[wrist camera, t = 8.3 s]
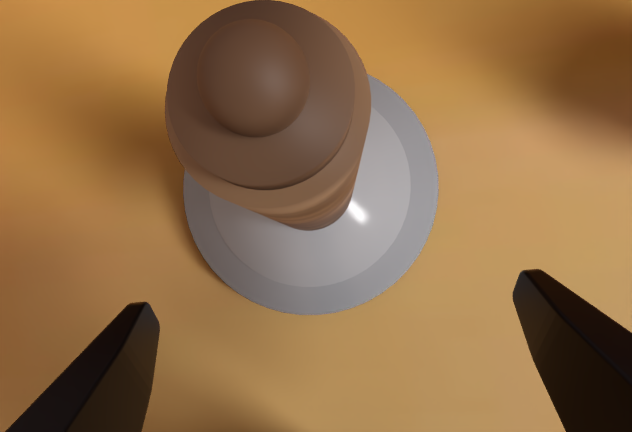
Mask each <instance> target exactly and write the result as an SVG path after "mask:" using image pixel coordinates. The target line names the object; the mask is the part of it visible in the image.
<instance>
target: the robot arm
mask: <svg viewBox="0 0 632 432" xmlns="http://www.w3.org/2000/svg"><path fill="white" fill-rule="evenodd" d="M513 302H514V305H515V308H516V311H517V314H518V317H519V320H520V323H521V326H522V329H523V332H524V335H525V338H526V341H527V344H528V347H529V350H530V353H531V355H532V358H533V361H534V363H535V365H536V368H537V370H538V372H539V374H540V376H541V379H542V381H543V383H544V385H545V387H546V389H547V392H548V394H549V396H550V398H551V400H552V402H553V405H554V407H555V409H556V411H557V413H558V415H559V418H560V420H561V422H562V424H563V426H564V428H565V431H566V432H632V333H631V332H630V331H628V330H627V329H626V328H624V327H623V326H621V325H620V324H618V323H617V322H616V321H614V320H613V319H611V318H610V317H608V316H607V315H605V314H604V313H603V312H601V311H600V310H598V309H597V308H595V307H594V306H593V305H591V304H590V303H588V302H587V301H585V300H584V299H583V298H581V297H580V296H578V295H577V294H575V293H574V292H572V291H571V290H570V289H568V288H567V287H565V286H564V285H562V284H561V283H560V282H558V281H557V280H555V279H554V278H552V277H551V276H550V275H548V274H547V273H545V272H544V271H542V270H540V269H531V270H523V271H522V272H520V274H519V277H518V279H517V282H516V285H515V288H514V290H513ZM159 332H160V325H159V322H158V319H157V317H156V316H155V314H154V312H153V310H152V308H151V306H150V305H149V303H147V302H135V303H130V304H129V305H127V306H126V307H125V308H124V309H123V310H122V311H121V312H120V313H119V314H118V315H117V316H116V318H115V319H114V320H113V321H112V322H111V323H110V324H109V325H108V326H107V327H106V328H105V329H104V330H103V331H102V332H101V333H100V334H99V335H98V336H97V337H96V338H95V339H94V340H93V341H92V342H91V343H90V344H89V345H88V347H87V348H86V349H85V350H84V351H83V352H82V353H81V354H80V355H79V356H78V357H77V358H76V359H75V360H74V361H73V362H72V363H71V364H70V365H69V366H68V367H67V368H66V369H65V370H64V371H63V372H62V373H61V374H60V376H59V377H58V378H57V379H56V380H55V381H54V382H53V383H52V384H51V385H50V386H49V387H48V388H47V389H46V390H45V391H44V392H43V393H42V394H41V395H40V396H39V397H38V398H37V399H36V400H35V401H34V402H33V403H32V405H31V406H30V407H29V408H28V409H27V410H26V411H25V412H24V413H23V414H22V415H21V416H20V417H19V418H18V419H17V420H16V421H15V422H14V423H13V424H12V425H11V426H10V427H9V428H8V429H7V430H6V431H5V432H141V431H142V427H143V423H144V419H145V415H146V411H147V407H148V403H149V399H150V395H151V390H152V384H153V377H154V369H155V362H156V355H157V347H158V340H159Z"/></svg>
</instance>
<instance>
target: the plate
mask: <svg viewBox="0 0 632 432" xmlns="http://www.w3.org/2000/svg"><path fill="white" fill-rule="evenodd" d="M367 76H368V80H369V84H370V91H371V115H370V122H369V127H368V131H367V136H366V140H365V144H364V148H363V152H362V156H361V161H360V165H359V169H358V173H357V177H356V182H355V186H354V190H353V194H352V198H351V201H350V204H349V206H348V208H347V209H346V211H345V213H344V214H343V215H342V216H341V217H340V218H339V219H338V220H337V221H336V222H334V223H333V224H331V225H329V226H328V227H325V228H323V229H319V230H313V231H304V230H298V229H295V228H292V227H289V226H287V225H285V224H282V223H280V222H277V221H275V220H272V219H270V218H268V217H265V216H263V215H260V214H258V213H256V212H253V211H251V210H248V209H246V208H243V207H241V206H239V205H236V204H234V203H231V202H229V201H227V200H224V199H222V198H220V197H218V196H216V195H214V194H213V193H211V192H209V191H208V190H206V189H205V188H204V187H202V186H201V185H200V184H199V183H198V182H196V181H195V180H194V179H193V178H192V176H191V175H190V174H189V173H188V172H187V171H186V170H185V173H184V188H183V196H184V205H185V213H186V217H187V221H188V225H189V228H190V231H191V233H192V236H193V239H194V241H195V243H196V245H197V247H198V249H199V251H200V252H201V254H202V256H203V258H204V259H205V260H206V262H207V263H208V264H209V266H210V267H211V269H212V270H213V271H214V272H215V273H216V274H217V275H218V276H219V277H220V278H221V279H222V280H223V281H224V282H225V283H226V284H227V285H228V286H230V287H231V288H232V289H233V290H235V291H236V292H237V293H239V294H240V295H242V296H244V297H246V298H247V299H249V300H251V301H252V302H255V303H257V304H259V305H262V306H264V307H266V308H269V309H273V310H277V311H280V312H284V313H291V314H298V315H321V314H328V313H335V312H339V311H343V310H347V309H350V308H353V307H355V306H358V305H360V304H363V303H365V302H367V301H369V300H371V299H372V298H374V297H376V296H378V295H379V294H381V293H383V292H384V291H385V290H386V289H388V288H389V287H390V286H392V285H393V284H394V283H395V282H396V281H397V280H398V279H399V278H400V277H401V276H402V275H403V274H404V273H405V272H406V271H407V270H408V269H409V268H410V266H411V265H412V264H413V262H414V261H415V260H416V258H417V257H418V255H419V254H420V252H421V250H422V248H423V246H424V245H425V243H426V241H427V238H428V236H429V233H430V231H431V228H432V226H433V222H434V218H435V214H436V209H437V201H438V172H437V166H436V160H435V156H434V153H433V149H432V146H431V143H430V140H429V138H428V136H427V134H426V132H425V129H424V127H423V126H422V124H421V123H420V121H419V119H418V118H417V116H416V115H415V113H414V112H413V111H412V109H411V108H410V107H409V106H408V105H407V103H406V102H405V101H404V100H403V99H402V98H401V97H400V96H399V95H398V94H396V93H395V92H394V91H393V90H392V89H391V88H389V87H388V86H387V85H385V84H384V83H382V82H381V81H379V80H378V79H376V78H374V77H372V76H370V75H368V74H367Z"/></svg>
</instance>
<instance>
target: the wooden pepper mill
mask: <svg viewBox="0 0 632 432" xmlns="http://www.w3.org/2000/svg"><path fill="white" fill-rule="evenodd" d="M370 115H371V91H370V84H369V80H368V76H367V73H366V70H365V67H364V65H363V63H362V60H361V58H360V57H359V55H358V53H357V51H356V50H355V48H354V47H353V45H352V44H351V43H350V42H349V40H348V39H347V38H346V37H345V36H344V35H343V34H342V33H341V32H340V31H339V30H338V29H337V28H336V27H334V26H333V25H331V24H330V23H329V22H327V21H326V20H324V19H322V18H321V17H319V16H317V15H315V14H313V13H311V12H309V11H307V10H305V9H303V8H301V7H298V6H296V5H293V4H289V3H285V2H281V1H272V0H255V1H248V2H243V3H239V4H236V5H232V6H230V7H227V8H225V9H223V10H221V11H219V12H217V13H215V14H213V15H212V16H210V17H209V18H207V19H206V20H205V21H203V22H202V23H201V24H200V25H199V26H198V27H197V28H196V29H195V30H193V31H192V33H191V34H190V35H189V36H188V37H187V39H186V40H185V41H184V43H183V44H182V46H181V48H180V49H179V51H178V53H177V55H176V57H175V59H174V61H173V64H172V67H171V71H170V74H169V79H168V85H167V93H166V100H165V118H166V126H167V131H168V136H169V139H170V142H171V144H172V147H173V150H174V152H175V154H176V155H177V157H178V159H179V161H180V163H181V164H182V165H183V167H184V168H185V170H186V171H187V172H188V173H189V174H190V175H191V176H192V178H193V179H194V180H195V181H196V182H198V183H199V184H200V185H201V186H202V187H204V188H205V189H206V190H208V191H209V192H211V193H213V194H214V195H216V196H218V197H220V198H222V199H224V200H227V201H229V202H231V203H234V204H236V205H239V206H241V207H243V208H246V209H248V210H251V211H253V212H256V213H258V214H260V215H263V216H265V217H268V218H270V219H272V220H275V221H277V222H280V223H282V224H285V225H287V226H289V227H292V228H295V229H298V230H304V231H313V230H319V229H323V228H325V227H328V226H329V225H331V224H333V223H334V222H336V221H337V220H338V219H339V218H340V217H341V216H342V215H343V214H344V213H345V211H346V209H347V208H348V206H349V204H350V201H351V198H352V194H353V190H354V186H355V182H356V177H357V173H358V169H359V165H360V161H361V156H362V152H363V148H364V144H365V140H366V136H367V131H368V127H369V122H370Z"/></svg>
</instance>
